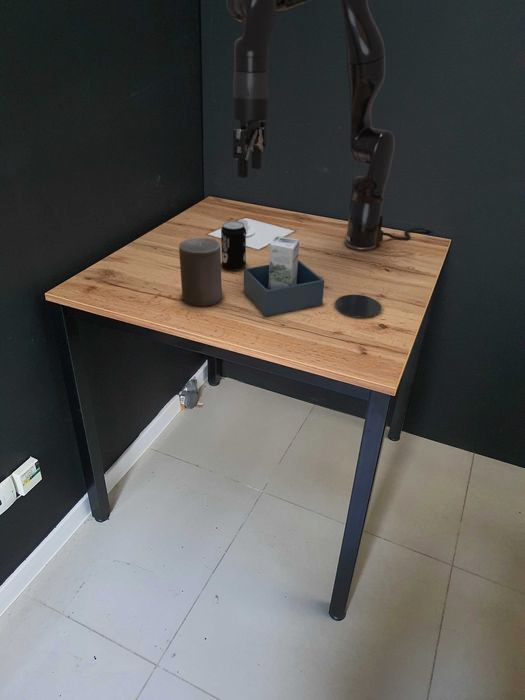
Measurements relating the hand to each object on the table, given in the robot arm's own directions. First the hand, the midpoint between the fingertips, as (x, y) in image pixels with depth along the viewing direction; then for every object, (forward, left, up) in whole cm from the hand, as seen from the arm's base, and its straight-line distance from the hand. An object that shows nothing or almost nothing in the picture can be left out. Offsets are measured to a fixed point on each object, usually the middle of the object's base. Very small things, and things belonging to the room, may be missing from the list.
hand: (249, 172), depth 116 cm
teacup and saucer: (-15, -32, -28) cm, 45 cm away
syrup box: (-4, +12, -28) cm, 30 cm away
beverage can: (0, -10, -28) cm, 30 cm away
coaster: (-19, +23, -28) cm, 41 cm away
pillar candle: (+14, +4, -28) cm, 32 cm away
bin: (-4, +12, -28) cm, 30 cm away
